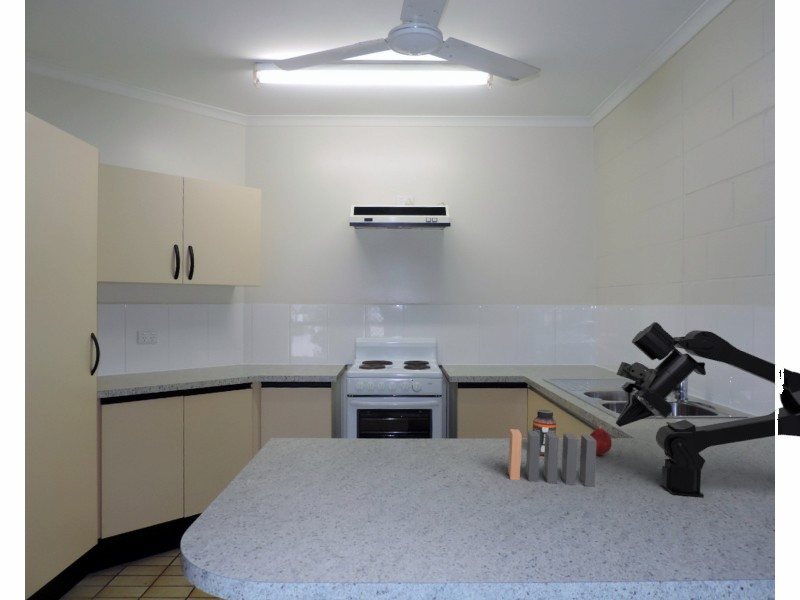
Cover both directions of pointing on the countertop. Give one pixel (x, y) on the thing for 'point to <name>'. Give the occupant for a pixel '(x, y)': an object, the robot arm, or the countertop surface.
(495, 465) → the countertop surface
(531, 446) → the domino
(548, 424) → the supplement bottle
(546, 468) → the domino
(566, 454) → the domino
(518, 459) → the domino
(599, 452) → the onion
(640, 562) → the countertop surface
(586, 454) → the domino
